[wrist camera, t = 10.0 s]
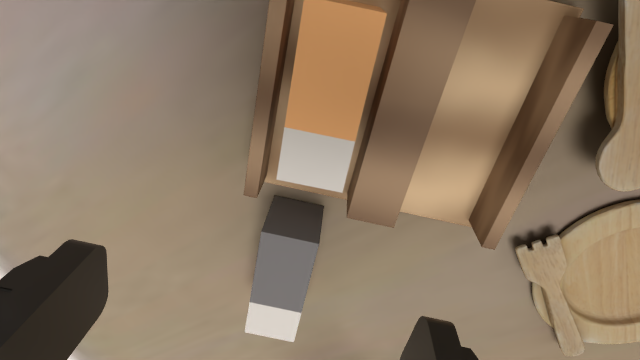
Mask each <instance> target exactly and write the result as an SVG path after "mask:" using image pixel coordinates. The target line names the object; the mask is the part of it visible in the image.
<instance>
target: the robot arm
mask: <svg viewBox="0 0 640 360" xmlns="http://www.w3.org/2000/svg"><path fill="white" fill-rule="evenodd" d="M107 297H108V274H107V254H106V249H105V247H104V246H101V245H96V244H91V243H87V242H82V241H77V240H73V239H72V240H68V241H66V242H65V243H63V244H62V245H61V246H60V247H59V248H58V249H57V250H56V251H55V252H54V253H52V254H51V255H50V256H49V257H44V256H38V257H36V258H34V259H32V260H30V261H28V262H25V263H23V264H21V265H19V266H17V267H15V268H13V269H12V270H11V271H10V272H9V273H8V274H6V275H5V276H4V277H3V278H2V279H1V280H0V360H67V359H68V358H69V356H70V355H71V354H72V352H73V351H74V350H75V348H76V347H77V346H78V344H79V343H80V342H81V340H82V339H83V338H84V336H85V335H86V334H87V332H88V331H89V330H90V328H91V327H92V325H93V324H94V323H95V321H96V320H97V319H98V317H99V316H100V314H101V313H102V311H103V309H104V306H105V304H106V301H107ZM400 360H478V358H477V357H476V355H475V354H474V353H473V351H472V350H471V349H470V348H465V347H461V345H460V341H459V338H458V335H457V332H456V329H455V326H454V324H453V323H451V322H448V321H443V320H439V319H434V318H429V317H425V316H421V317H420V318H419V319H418V321H417V323H416V325H415V327H414V330H413V332H412V334H411V336H410V338H409V340H408V342H407V344H406V346H405V348H404V350H403V352H402V355H401V358H400Z"/></svg>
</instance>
